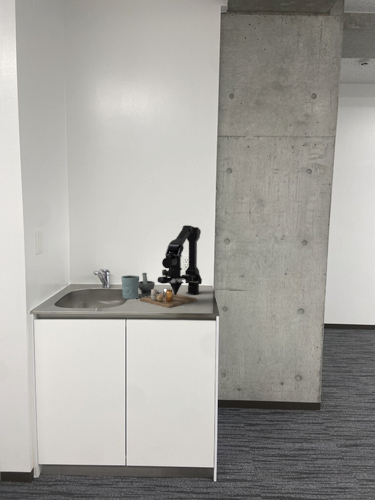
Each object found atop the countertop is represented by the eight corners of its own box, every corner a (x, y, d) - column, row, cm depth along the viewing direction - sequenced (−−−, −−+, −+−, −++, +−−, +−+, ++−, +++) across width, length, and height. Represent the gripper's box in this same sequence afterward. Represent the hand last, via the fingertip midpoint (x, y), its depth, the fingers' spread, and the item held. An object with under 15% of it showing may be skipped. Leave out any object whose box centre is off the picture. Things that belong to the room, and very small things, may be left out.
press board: (168, 294, 247) (168, 282, 246) (197, 300, 232) (197, 287, 232) (139, 300, 229) (139, 287, 229) (168, 307, 215) (168, 294, 214)
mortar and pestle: (156, 295, 244) (156, 274, 243) (140, 296, 241) (140, 275, 240) (151, 291, 255) (151, 271, 253) (136, 292, 252) (136, 272, 250)
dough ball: (159, 300, 227) (159, 293, 226) (164, 301, 224) (164, 294, 224) (155, 301, 224) (155, 294, 223) (159, 302, 222) (160, 295, 221)
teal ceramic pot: (124, 300, 231) (124, 278, 229) (119, 296, 240) (119, 275, 238) (141, 298, 235) (141, 277, 234) (136, 294, 244) (136, 274, 243)
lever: (162, 293, 241) (162, 283, 241) (169, 293, 242) (169, 283, 241) (165, 301, 222) (166, 290, 221) (173, 301, 223) (173, 290, 222)
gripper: (183, 263, 235) (182, 290, 236) (153, 265, 225) (153, 293, 227) (193, 265, 225) (193, 294, 227) (162, 267, 216) (162, 297, 217)
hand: (175, 294), depth 225 cm, fingers closed
